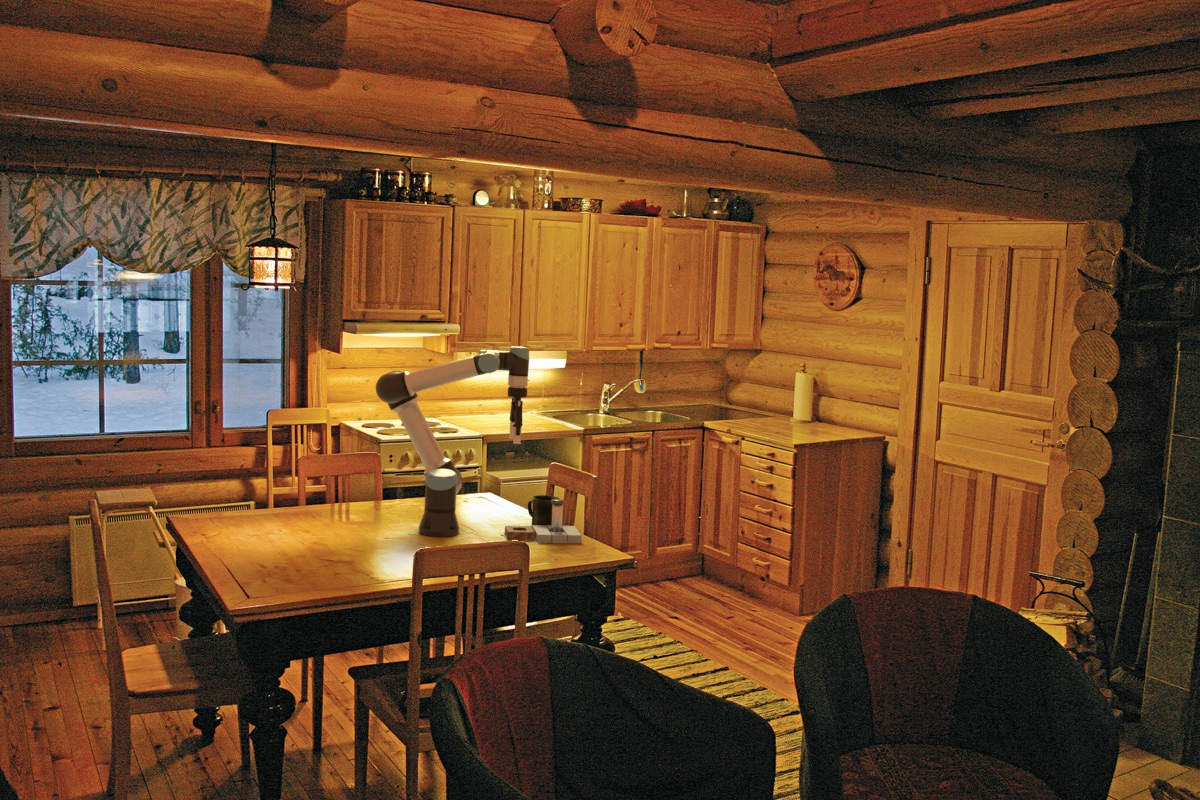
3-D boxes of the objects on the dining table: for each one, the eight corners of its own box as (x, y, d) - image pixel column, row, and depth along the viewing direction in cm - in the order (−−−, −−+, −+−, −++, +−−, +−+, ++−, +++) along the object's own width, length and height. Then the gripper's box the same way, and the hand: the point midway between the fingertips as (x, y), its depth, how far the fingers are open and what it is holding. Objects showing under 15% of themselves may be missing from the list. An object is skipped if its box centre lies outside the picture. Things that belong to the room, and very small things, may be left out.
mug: (546, 532, 416) (547, 501, 415) (518, 525, 425) (520, 495, 424) (563, 528, 424) (565, 498, 423) (536, 521, 433) (538, 492, 432)
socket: (537, 542, 397) (537, 534, 397) (531, 532, 413) (531, 525, 413) (581, 543, 400) (581, 535, 400) (573, 533, 417) (574, 525, 416)
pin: (550, 539, 404) (552, 501, 402) (548, 536, 409) (550, 498, 407) (563, 539, 405) (565, 501, 403) (561, 536, 410) (563, 499, 408)
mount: (507, 539, 399) (508, 531, 399) (504, 533, 409) (505, 525, 409) (534, 540, 401) (534, 532, 401) (530, 534, 411) (531, 526, 411)
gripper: (531, 390, 400) (528, 446, 402) (523, 384, 425) (520, 436, 427) (511, 389, 399) (508, 445, 401) (504, 383, 423) (501, 436, 425)
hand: (514, 441), depth 414 cm, fingers open, 13 cm apart
